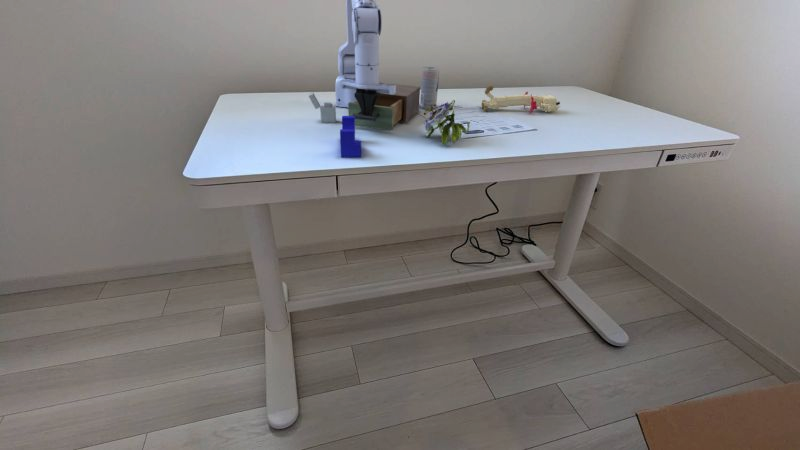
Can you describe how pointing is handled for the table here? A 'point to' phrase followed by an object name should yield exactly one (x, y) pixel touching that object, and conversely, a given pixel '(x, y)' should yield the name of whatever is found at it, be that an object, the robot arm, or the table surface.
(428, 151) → the table surface
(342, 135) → the blue stepped block
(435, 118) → the passion flower
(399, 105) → the drawer
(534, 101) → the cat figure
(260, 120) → the table surface
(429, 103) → the energy drink
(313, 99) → the lighter
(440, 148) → the table surface
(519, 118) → the table surface
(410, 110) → the cabinet
